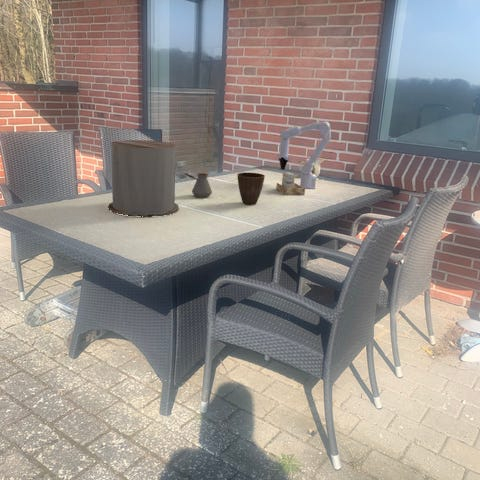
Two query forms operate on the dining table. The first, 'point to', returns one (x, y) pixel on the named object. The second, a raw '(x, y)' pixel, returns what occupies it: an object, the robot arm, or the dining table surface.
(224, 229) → the dining table surface
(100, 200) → the dining table surface
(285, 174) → the ink box
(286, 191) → the pine u-shaped frame
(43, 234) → the dining table surface
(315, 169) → the pitcher
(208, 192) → the coffee pot
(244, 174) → the plant pot
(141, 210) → the storage basket
